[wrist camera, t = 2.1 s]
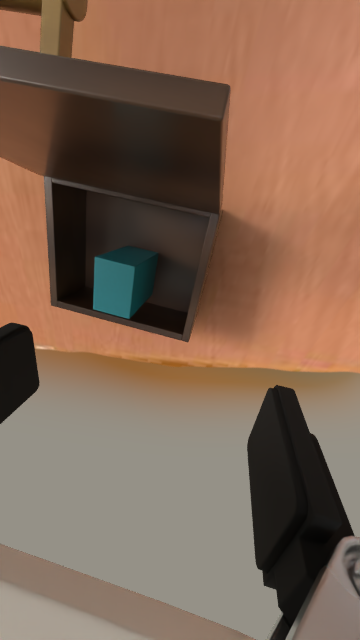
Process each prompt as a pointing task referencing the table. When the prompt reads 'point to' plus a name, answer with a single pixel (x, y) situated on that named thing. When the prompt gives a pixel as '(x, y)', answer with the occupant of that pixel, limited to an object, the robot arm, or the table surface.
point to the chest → (128, 230)
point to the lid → (110, 118)
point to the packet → (123, 280)
